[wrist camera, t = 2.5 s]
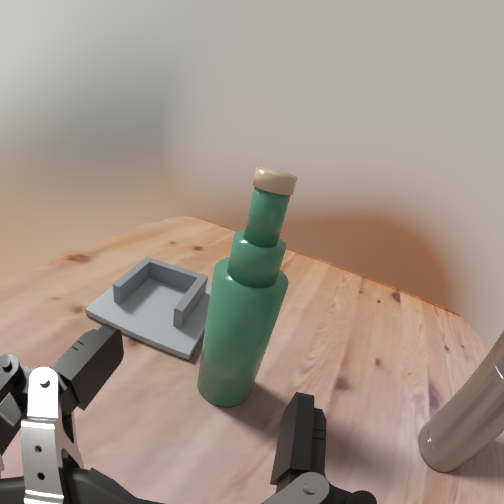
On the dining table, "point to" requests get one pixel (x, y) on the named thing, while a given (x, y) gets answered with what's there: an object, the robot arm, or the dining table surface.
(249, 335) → the bottle
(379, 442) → the dining table surface
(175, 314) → the bottle rest
